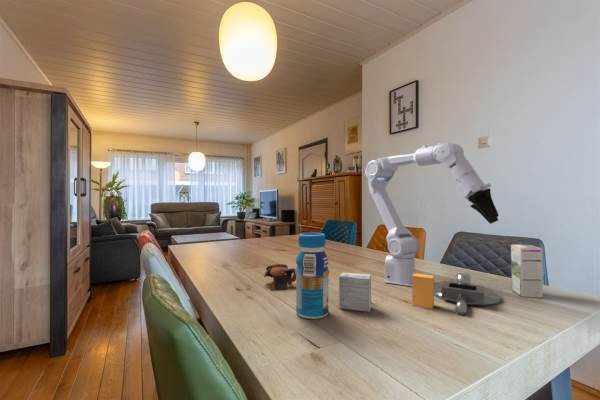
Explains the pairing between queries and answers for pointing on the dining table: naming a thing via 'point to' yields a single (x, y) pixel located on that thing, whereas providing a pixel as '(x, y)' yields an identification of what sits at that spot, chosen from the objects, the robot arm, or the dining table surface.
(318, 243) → the beverage bottle
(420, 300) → the orange rectangular block
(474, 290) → the rosette joint
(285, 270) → the pottery mug
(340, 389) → the dining table surface
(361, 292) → the medicine box
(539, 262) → the syrup box
